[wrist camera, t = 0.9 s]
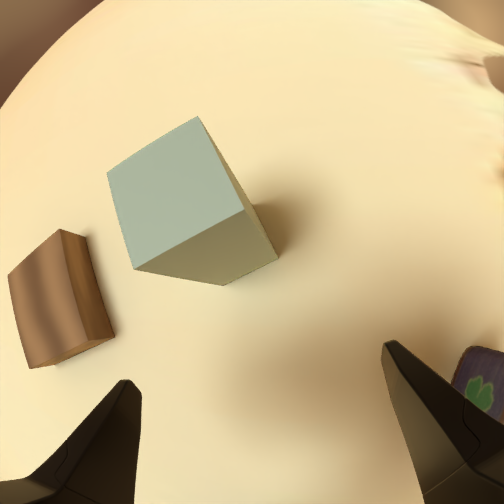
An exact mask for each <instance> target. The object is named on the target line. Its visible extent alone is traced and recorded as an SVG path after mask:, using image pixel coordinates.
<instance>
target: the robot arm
mask: <svg viewBox="0 0 504 504" xmlns="http://www.w3.org/2000/svg"><path fill="white" fill-rule="evenodd" d="M381 362H382V366H383V370H384V374H385V378H386V382H387V386H388V390H389V394H390V398H391V401H392V404H393V407H394V410H395V413H396V415H397V418H398V421H399V424H400V426H401V429H402V432H403V435H404V438H405V441H406V444H407V446H408V449H409V452H410V456H411V459H412V462H413V465H414V468H415V471H416V474H417V478H418V481H419V484H420V488H421V491H422V494H423V499H424V502H425V504H504V424H502V423H500V422H499V421H497V420H496V419H494V418H493V417H491V416H490V415H488V414H487V413H485V412H484V411H482V410H481V409H480V408H479V407H477V406H476V405H475V404H474V403H472V402H471V401H470V400H469V399H468V398H465V396H464V395H463V394H461V393H460V392H459V391H458V390H457V389H455V388H454V387H453V386H452V385H451V384H449V383H448V382H447V381H446V380H444V379H443V378H442V377H441V376H440V375H438V374H437V373H436V372H435V371H433V370H432V369H431V368H430V367H429V366H427V365H426V364H425V363H424V362H422V361H421V360H420V359H419V358H417V357H416V356H415V355H414V354H412V353H411V352H410V351H409V350H408V349H406V348H405V347H404V346H403V345H401V344H400V343H399V342H398V341H396V340H391V341H387V342H384V344H383V348H382V355H381ZM141 408H142V395H141V392H140V390H139V389H138V388H137V387H136V386H135V384H134V383H133V382H132V381H131V380H120V381H119V382H118V383H117V384H116V385H115V386H114V387H113V388H112V390H111V391H110V392H109V393H108V394H107V395H106V396H105V397H104V398H103V399H102V401H101V402H100V403H99V404H98V405H97V406H96V407H95V408H94V409H93V411H92V412H91V413H90V414H89V415H88V416H87V417H86V418H85V419H84V420H83V422H82V423H81V424H80V425H79V426H78V427H77V428H76V429H75V431H74V432H73V433H72V434H71V435H70V436H69V437H68V438H67V440H65V442H64V443H63V444H62V445H61V446H60V447H59V448H58V449H57V450H56V451H55V452H54V453H53V454H52V455H51V456H50V457H49V458H48V459H47V460H46V461H45V462H44V463H43V464H42V465H41V466H40V467H39V468H37V469H36V470H35V471H34V472H33V473H32V474H31V475H29V476H27V477H25V478H22V479H16V480H9V481H1V482H0V504H134V495H135V482H136V470H137V460H138V451H139V442H140V434H141Z"/></svg>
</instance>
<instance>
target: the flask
mask: <svg viewBox="0 0 504 504" xmlns="http://www.w3.org/2000/svg"><path fill="white" fill-rule="evenodd" d="M451 385H452V386H453V387H454V388H455V389H457V390H458V391H459V392H460V393H461V394H463V395H464V396H465V398H468V399H469V400H470V401H471V402H472V403H474V404H475V405H476V406H477V407H479V408H480V409H481V410H482V411H484V412H485V413H487V414H488V415H490V416H491V417H493V418H494V419H496V420H497V421H499V422H500V423H502V424H504V353H503V352H500V351H496V350H491V349H489V348H483V347H480V346H476V347H472V346H471V347H469V348H467V349H466V350H465V352H464V353H463V355H462V357H461V358H460V361H459V363H458V366H457V369H456V371H455V373H454V377H453V379H452V382H451Z"/></svg>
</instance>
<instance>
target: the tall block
mask: <svg viewBox="0 0 504 504" xmlns="http://www.w3.org/2000/svg"><path fill="white" fill-rule="evenodd" d="M107 177H108V181H109V185H110V189H111V193H112V197H113V201H114V205H115V209H116V213H117V216H118V220H119V224H120V227H121V231H122V234H123V237H124V241H125V244H126V247H127V250H128V254H129V257H130V260H131V263H132V266H133V269H134V270H139V271H144V272H149V273H155V274H160V275H165V276H170V277H176V278H181V279H187V280H192V281H198V282H204V283H209V284H215V285H221V286H224V285H226V284H228V283H230V282H232V281H234V280H236V279H238V278H240V277H242V276H244V275H246V274H248V273H250V272H252V271H254V270H256V269H258V268H260V267H262V266H264V265H266V264H268V263H270V262H272V261H274V260H276V259H278V256H277V254H276V252H275V250H274V248H273V246H272V244H271V242H270V240H269V238H268V236H267V234H266V232H265V230H264V228H263V226H262V224H261V222H260V220H259V218H258V216H257V214H256V212H255V210H254V208H253V206H252V204H251V203H250V201H249V199H248V198H247V196H246V194H245V193H244V191H243V189H242V187H241V186H240V184H239V182H238V181H237V179H236V177H235V176H234V174H233V172H232V171H231V169H230V168H229V166H228V164H227V163H226V161H225V159H224V158H223V156H222V154H221V153H220V151H219V149H218V148H217V146H216V144H215V143H214V141H213V140H212V138H211V136H210V135H209V133H208V131H207V130H206V128H205V127H204V125H203V123H202V122H201V120H200V119H199V117H198V116H197V117H195V118H193V119H191V120H189V121H188V122H186V123H184V124H182V125H181V126H179V127H177V128H175V129H174V130H172V131H170V132H168V133H167V134H165V135H163V136H162V137H160V138H158V139H157V140H155V141H154V142H152V143H150V144H149V145H147V146H146V147H144V148H142V149H141V150H139V151H138V152H136V153H135V154H133V155H132V156H130V157H129V158H127V159H126V160H124V161H123V162H121V163H120V164H118V165H117V166H116V167H114V168H113V169H111V170H110V171H109V172H107Z"/></svg>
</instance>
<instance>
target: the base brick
mask: <svg viewBox="0 0 504 504" xmlns="http://www.w3.org/2000/svg"><path fill="white" fill-rule="evenodd" d="M8 282H9V288H10V294H11V300H12V305H13V310H14V314H15V319H16V323H17V327H18V331H19V335H20V339H21V343H22V346H23V350H24V353H25V357H26V360H27V363H28V366H29V369H33V368H39V367H45V366H51V365H55V364H57V363H59V362H62V361H64V360H66V359H68V358H70V357H73V356H75V355H77V354H79V353H81V352H84V351H86V350H88V349H90V348H92V347H95V346H97V345H99V344H101V343H103V342H105V341H108V340H110V339H112V338H114V337H115V336H114V333H113V331H112V328H111V325H110V322H109V319H108V317H107V314H106V311H105V308H104V305H103V301H102V298H101V295H100V292H99V289H98V285H97V282H96V278H95V275H94V271H93V268H92V264H91V260H90V256H89V252H88V248H87V244H86V239H85V237H84V236H80V235H77V234H74V233H71V232H68V231H65V230H62V229H58V230H57V231H56V232H55V233H54V234H52V235H51V236H50V237H49V238H48V239H47V240H45V241H44V242H43V243H42V244H41V245H40V246H38V247H37V248H36V249H35V250H34V251H33V252H32V253H31V254H30V255H28V256H27V257H26V258H25V259H24V260H23V261H22V262H21V263H20V264H19V265H18V266H17V267H16V268H15V269H14V270H13V271H12V272H10V273H9V274H8Z"/></svg>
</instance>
